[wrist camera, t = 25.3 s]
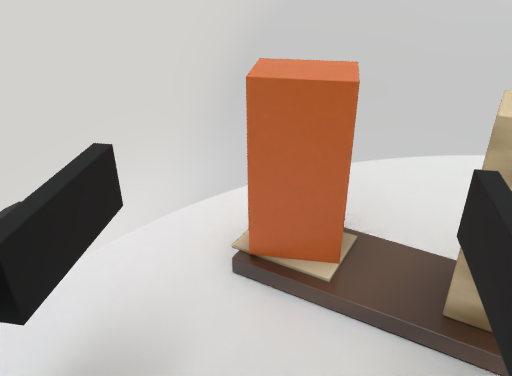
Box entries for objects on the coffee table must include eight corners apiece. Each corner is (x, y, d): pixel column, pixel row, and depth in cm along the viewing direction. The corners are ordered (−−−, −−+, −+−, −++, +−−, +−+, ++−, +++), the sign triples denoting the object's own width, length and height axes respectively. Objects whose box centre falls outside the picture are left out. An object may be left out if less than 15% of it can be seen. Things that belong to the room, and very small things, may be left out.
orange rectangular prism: (249, 254, 25) (245, 76, 20) (259, 220, 28) (259, 58, 23) (339, 264, 24) (359, 81, 19) (340, 227, 27) (358, 61, 22)
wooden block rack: (224, 268, 26) (215, 79, 20) (274, 218, 30) (277, 53, 25) (737, 467, 16) (982, 204, 10) (696, 349, 20) (853, 124, 15)
